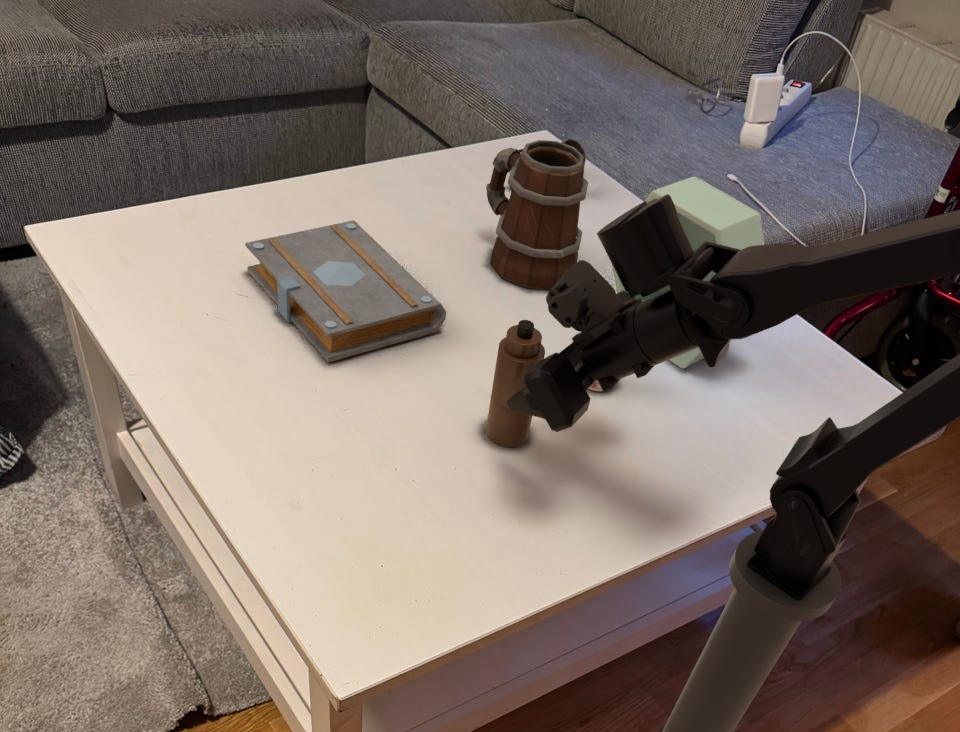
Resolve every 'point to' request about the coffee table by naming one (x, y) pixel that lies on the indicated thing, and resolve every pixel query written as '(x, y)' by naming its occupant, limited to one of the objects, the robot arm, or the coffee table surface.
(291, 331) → the coffee table surface
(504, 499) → the coffee table surface
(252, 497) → the coffee table surface
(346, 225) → the book
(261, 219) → the coffee table surface
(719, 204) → the planter
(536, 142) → the mug
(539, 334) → the pepper mill
